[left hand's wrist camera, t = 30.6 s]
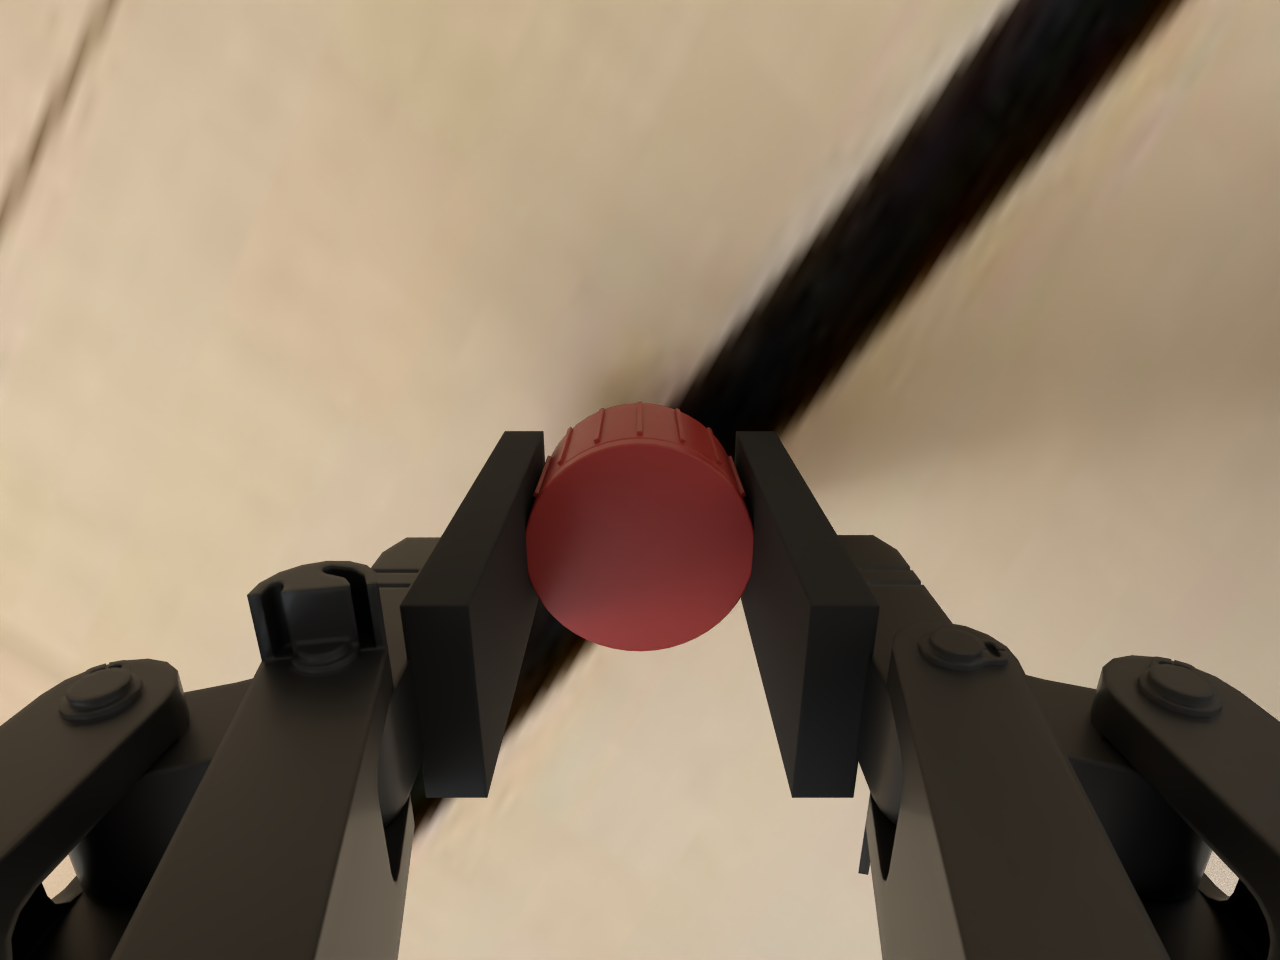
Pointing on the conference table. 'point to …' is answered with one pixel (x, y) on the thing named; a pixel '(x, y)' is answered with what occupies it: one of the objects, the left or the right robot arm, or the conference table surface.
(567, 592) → the cap
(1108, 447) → the conference table surface
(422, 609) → the left robot arm
